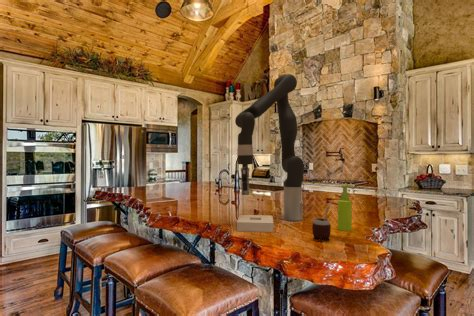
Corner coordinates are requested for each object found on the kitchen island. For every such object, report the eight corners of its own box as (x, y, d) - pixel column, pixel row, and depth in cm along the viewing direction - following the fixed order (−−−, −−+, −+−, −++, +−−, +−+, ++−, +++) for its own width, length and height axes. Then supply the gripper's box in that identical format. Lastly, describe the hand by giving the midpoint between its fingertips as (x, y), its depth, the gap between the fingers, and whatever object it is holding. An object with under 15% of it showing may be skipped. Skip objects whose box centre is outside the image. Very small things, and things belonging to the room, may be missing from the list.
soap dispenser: (352, 232, 129) (352, 186, 129) (336, 229, 133) (336, 185, 133) (355, 229, 134) (355, 185, 134) (339, 227, 138) (339, 184, 138)
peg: (249, 194, 143) (249, 176, 143) (248, 195, 140) (248, 177, 140) (241, 193, 144) (241, 176, 144) (241, 194, 140) (241, 177, 140)
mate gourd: (311, 241, 115) (311, 203, 115) (313, 235, 123) (313, 200, 123) (331, 243, 113) (331, 204, 113) (332, 237, 120) (332, 201, 120)
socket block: (272, 223, 144) (272, 215, 144) (273, 232, 128) (273, 223, 128) (239, 222, 146) (239, 214, 146) (236, 231, 130) (236, 222, 130)
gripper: (252, 154, 134) (252, 192, 134) (253, 154, 148) (253, 188, 148) (235, 154, 135) (236, 191, 135) (238, 154, 149) (239, 188, 149)
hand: (245, 189), depth 142 cm, fingers closed on peg, 3 cm apart
